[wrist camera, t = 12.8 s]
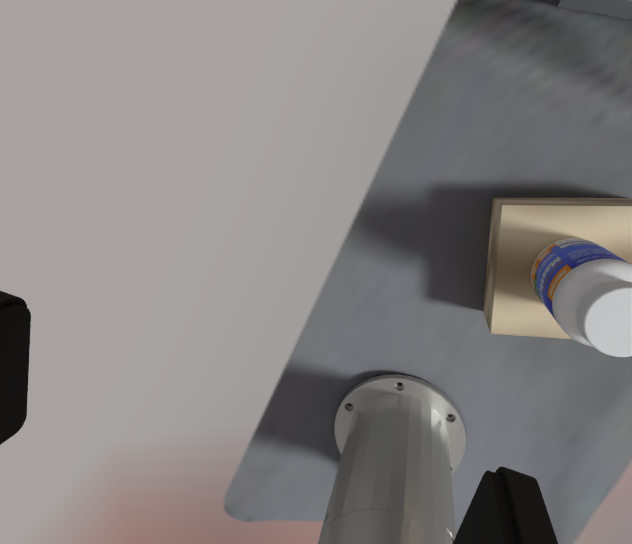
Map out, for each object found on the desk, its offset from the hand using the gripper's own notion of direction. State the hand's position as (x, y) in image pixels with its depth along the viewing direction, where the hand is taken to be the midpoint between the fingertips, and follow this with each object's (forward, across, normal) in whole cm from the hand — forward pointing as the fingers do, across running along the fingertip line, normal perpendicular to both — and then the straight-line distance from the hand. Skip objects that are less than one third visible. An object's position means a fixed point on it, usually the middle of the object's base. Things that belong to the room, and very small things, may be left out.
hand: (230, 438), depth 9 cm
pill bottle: (+28, -15, 0) cm, 32 cm away
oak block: (+33, -15, 0) cm, 36 cm away
